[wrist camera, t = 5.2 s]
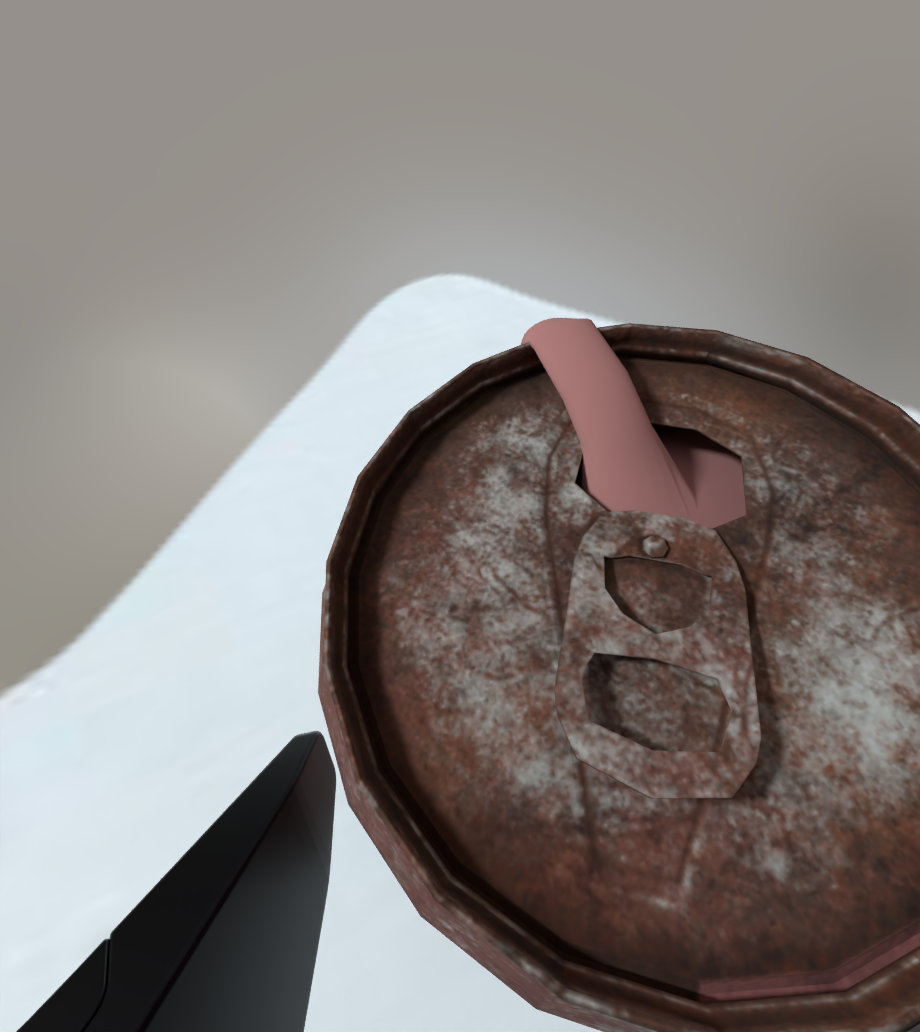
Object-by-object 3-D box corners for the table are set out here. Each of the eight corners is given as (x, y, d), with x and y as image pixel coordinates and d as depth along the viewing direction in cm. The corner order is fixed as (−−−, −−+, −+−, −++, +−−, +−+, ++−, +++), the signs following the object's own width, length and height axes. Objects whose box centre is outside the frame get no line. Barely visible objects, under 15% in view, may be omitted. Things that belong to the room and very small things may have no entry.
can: (578, 596, 18) (735, 210, 5) (679, 777, 15) (1487, 828, 3) (425, 663, 17) (212, 399, 5) (499, 865, 14) (440, 1480, 2)
